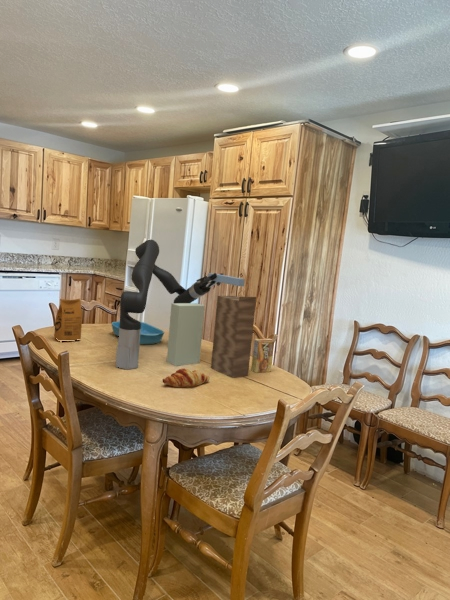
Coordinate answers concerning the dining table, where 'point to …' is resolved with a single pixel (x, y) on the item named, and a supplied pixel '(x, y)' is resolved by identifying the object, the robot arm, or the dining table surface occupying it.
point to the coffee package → (68, 320)
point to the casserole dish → (143, 333)
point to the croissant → (186, 378)
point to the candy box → (262, 355)
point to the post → (233, 335)
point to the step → (185, 333)
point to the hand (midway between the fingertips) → (219, 275)
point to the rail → (228, 280)
